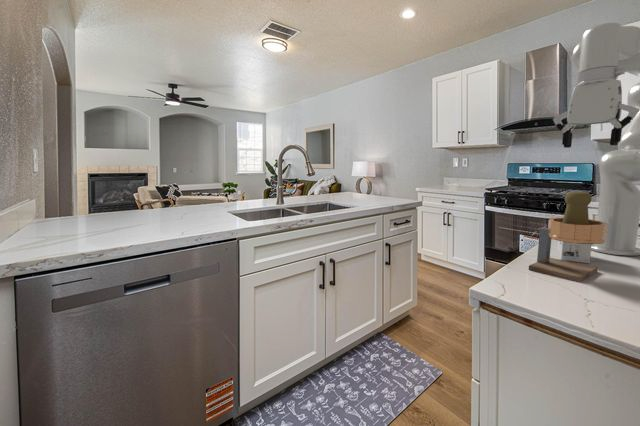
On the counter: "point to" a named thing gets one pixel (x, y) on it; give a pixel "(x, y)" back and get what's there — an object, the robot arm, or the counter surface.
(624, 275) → the counter surface
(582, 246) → the light bulb box
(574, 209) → the cork
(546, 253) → the cup bracket
